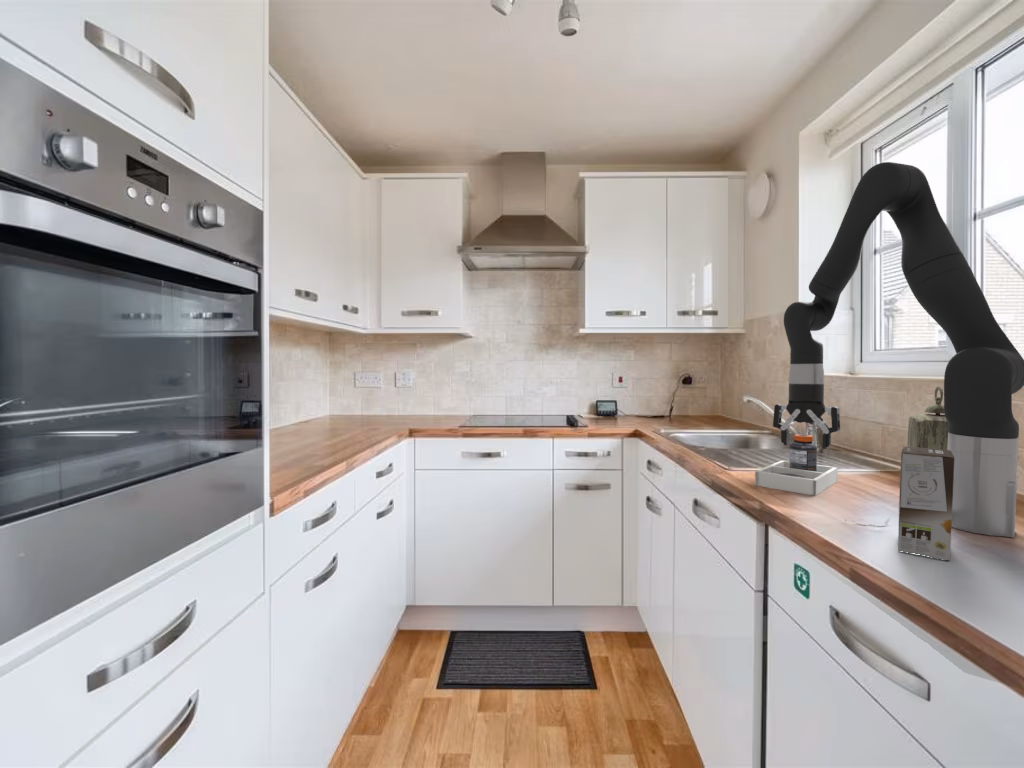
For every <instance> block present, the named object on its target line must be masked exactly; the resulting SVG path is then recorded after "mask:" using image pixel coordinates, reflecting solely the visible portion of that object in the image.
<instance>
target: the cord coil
mask: <svg viewBox="0 0 1024 768" xmlns="http://www.w3.org/2000/svg"><path fill="white" fill-rule="evenodd" d="M780 474H781V475H787V476H794V477H800V478H806V477H804V476H801V475H796V474H788V473H780Z"/></svg>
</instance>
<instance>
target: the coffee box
mask: <svg viewBox="0 0 1024 768" xmlns="http://www.w3.org/2000/svg"><path fill="white" fill-rule="evenodd" d="M900 456H901V458H900V475H899V478H900V480H899V496H898V497H899V502H898V533H897V534H898V535H897V536H898V538H897V539H898V541H897V542H898V543H897V552H899V551H903V552H908V553H915V554H920V555H925V556H929V557H932V558H931V559H933V558H938V559H943V560H949V561H950V559H951V558H950V556H951V542H952V541H951V540H952V538H951V537H952V526H951V524H952V504H953V481H954V459H955V458H954V456H953V454H952V452H951V451H950V450H942V449H931V448H915V447H908V446H903V447H902V448H901V455H900ZM903 552H902V553H903ZM908 553H907V554H908ZM938 559H937V560H938ZM943 560H942V561H943Z"/></svg>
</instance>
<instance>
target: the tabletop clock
mask: <svg viewBox="0 0 1024 768" xmlns="http://www.w3.org/2000/svg"><path fill="white" fill-rule="evenodd" d="M938 391H939V393H940V397H938ZM943 400H944V389H943V388H942V386H936V387H935V389H934V401H935V403H934V404H930V405H928V406H927V407H926V408H925V410H924V413H918V414H915V415H913V416H909V418H908V427H907V428H908V430H907V447H915V448H931V449H942V450H947V449H948V448H947V447H948V422H947V420H946V418H945V413H944V404H942V402H943Z"/></svg>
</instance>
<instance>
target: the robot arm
mask: <svg viewBox="0 0 1024 768" xmlns="http://www.w3.org/2000/svg"><path fill="white" fill-rule="evenodd" d="M855 187H856V188H855V189H854V192H853V194H852V196H851V198H850V202H849V204H848V207H847V209H846V211H845V214H844V216H843V218H842V220H841V224H840V225H839V228H838V231H837V233H836V235H835V237H834V240H833V241H832V244H831V246H830V248H829V250H828V251H827V253H826V255H825V257H824V259H823V261H822V262H821V263H820V265H819V267H818V268H817V270H816V272H815V274H814V275H813V277H812V279H811V280H810V282H809V285H808V290H809V291H810V293H811V294H812V295H814V298H813V300H812V301H811V302H810V301H808V302H807V301H795V302H792V303H791V304H790V305H788V306H787V308H786V309H785V312H784V314H783V327H784V330H785V334H786V338H787V342H788V345H789V347H790V352H789V353H790V354H789V355H790V357H789V360H790V361H789V371H788V378H787V379H788V404H787V405H786V404H785V405H782V404H780V403H779V404H778V403H777V404H774V408H773V420H772V421H773V422H772V427H774V428H777V429H779V430H780V433H781V434H780V435H781V437H780V438H781V439H780V441H781V443H782V444H783V446H790V430H789V429H790V427H791V426H792V425H794V424H795V423H799V424H800V423H806V424H815V425H816V426H817V427H819V429H821V431H822V432H823V433H822V437H821V438H822V439H821V440H822V443H821V444H822V445H821V448H822V449H823V450H827V449H829V448H830V447H831V445H832V433H837V432H839V431H840V430H841V417H840V415H841V414H840V407H839V406H832V407H831V406H830V407H827V406H825V404H824V403H825V401H824V399H825V387H824V386H825V371H824V344H823V343H822V341H819V340H817V339H814V338H813V335H812V332H817V331H821V330H823V329H825V328H826V327H827V326H828V325H829V324H830V323H831V321H833V320H832V319H833V318H834V315H835V313H836V309H837V307H838V305H839V304H838V303H839V300H840V296H841V294H842V293H843V291H844V290H845V288H846V287H847V285H848V284H849V282H850V280H851V279H852V277H853V276H854V274H855V272H856V271H857V270H858V269H857V268H858V266H859V264H860V260H861V257H862V251H863V246H864V242H865V238H866V235H867V233H868V232H869V229H870V228H871V226H872V224H873V223H874V221H875V220H876V219H877V217H878V216H879V215H880V214H881V213H882V212H886V213H887V214H888V215H889V216H890V218H891V219H892V220H893V222H894V224H895V226H896V228H897V230H898V232H899V234H900V237H901V243H902V244H901V258H900V259H901V261H900V263H901V264H900V265H901V269H902V274H903V276H904V279H905V281H906V282H907V284H908V287H909V288H910V290H911V292H912V294H913V296H914V297H915V299H916V300H917V302H918V304H919V305H920V306H921V307H922V308H923V309H924V310H925V312H926V313H927V314H928V315H929V316H930V317H931V318H932V319H933V320H934V321H935V322H936V323H937V325H938V326H939V327H940V328H942V330H943V331H944V333H945V334H946V335H947V337H948V338H949V340H950V342H951V344H952V347H953V349H954V350H955V354H954V355H953V356H952V357H951V358H950V359H949V361H948V362H947V365H946V367H945V370H944V379H943V405H944V413H945V414H944V415H945V418H946V420H947V422H948V447H947V448H948V449H947V450H950V451H951V452H952V454H953V456H954V458H955V459H954V481H953V504H952V524H951V528H954V529H958V530H961V531H962V530H963V531H966V532H970V533H974V534H979V535H987V536H995V537H996V536H998V537H1008V538H1015V533H1016V531H1015V529H1016V514H1017V513H1016V510H1017V507H1016V506H1017V493H1018V492H1017V490H1018V484H1017V478H1018V476H1017V473H1018V453H1019V452H1018V451H1019V437H1020V436H1019V435H1020V433H1019V432H1020V425H1019V423H1018V421H1017V420H1016V419H1015V417H1014V414H1013V409H1012V408H1013V407H1012V405H1013V404H1012V403H1013V401H1012V398H1013V397H1012V396H1013V394H1016V393H1018V392H1019V391H1020V390H1022V389H1023V387H1024V358H1023V356H1022V355H1021V353H1020V352H1019V351H1018V350H1017V348H1016V347H1015V346H1014V344H1013V343H1012V341H1011V340H1010V339H1009V337H1008V336H1007V334H1005V332H1004V331H1003V329H1002V328H1001V325H1000V324H999V322H997V319H996V318H995V317H994V316H995V315H994V313H993V312H992V311H991V308H990V306H989V303H988V301H987V299H986V296H985V295H984V292H983V291H982V289H981V287H980V285H979V282H978V281H977V279H976V277H975V273H973V270H972V268H971V266H970V265H969V262H968V261H967V259H966V257H965V255H964V254H963V252H962V250H961V249H960V246H959V245H958V243H957V241H956V240H955V238H954V236H953V234H952V233H951V231H950V229H949V227H948V225H947V224H946V222H945V221H944V219H943V217H942V216H941V213H940V211H939V208H938V206H937V203H936V200H935V198H934V195H933V192H932V189H931V186H930V184H929V181H928V179H927V176H926V174H925V173H924V172H923V171H922V170H921V169H920V168H919V167H916V166H914V165H912V164H906V163H905V164H904V163H898V162H893V161H892V162H891V161H887V162H886V161H885V162H881V163H877V164H875V165H873V166H872V167H870V168H869V169H868V170H867V171H866V172H865V173H864V174H863V175H862V176H861V178H860V180H859V181H858V183H857V185H856V186H855ZM785 411H787V412H788V414H789V415H790V416H788V418H787V419H786V420H785V422H784V423H782V418H783V417H782V416H783V415H782V414H784V413H785ZM825 413H827V415H828V416H829V417H831V418H830V420H831V427H830V426H829V425H828V424H827V421H825V419H824V418H823V417H822V416H823V415H824V414H825Z"/></svg>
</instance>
